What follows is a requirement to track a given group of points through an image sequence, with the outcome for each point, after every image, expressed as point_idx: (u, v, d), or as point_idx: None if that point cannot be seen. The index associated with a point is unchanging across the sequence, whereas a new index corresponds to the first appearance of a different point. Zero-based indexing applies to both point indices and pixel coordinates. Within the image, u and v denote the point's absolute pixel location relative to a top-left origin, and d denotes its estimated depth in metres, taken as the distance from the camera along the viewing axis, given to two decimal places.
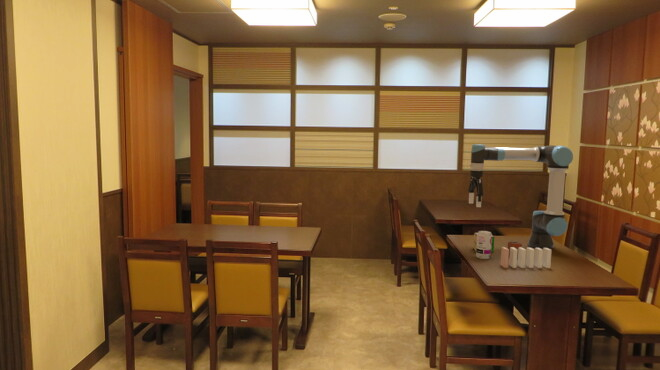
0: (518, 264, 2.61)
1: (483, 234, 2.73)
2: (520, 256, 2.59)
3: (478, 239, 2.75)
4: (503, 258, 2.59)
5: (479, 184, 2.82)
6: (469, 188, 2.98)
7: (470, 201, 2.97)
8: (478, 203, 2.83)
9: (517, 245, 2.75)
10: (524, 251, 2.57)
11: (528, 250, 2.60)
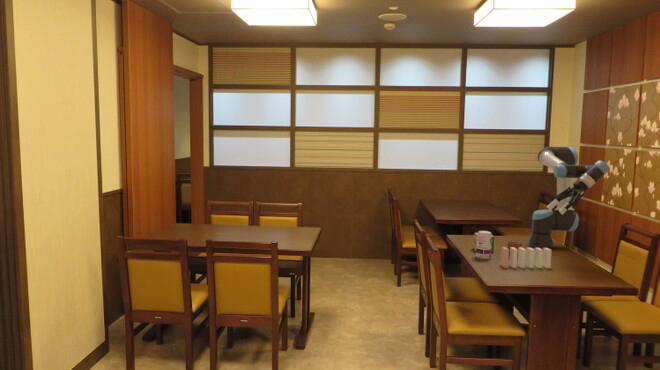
0: (518, 264, 2.61)
1: (483, 234, 2.73)
2: (520, 256, 2.59)
3: (478, 239, 2.75)
4: (503, 258, 2.59)
5: (579, 194, 2.58)
6: (558, 195, 2.73)
7: (550, 206, 2.72)
8: (563, 209, 2.59)
9: (517, 245, 2.75)
10: (524, 251, 2.57)
11: (528, 250, 2.60)
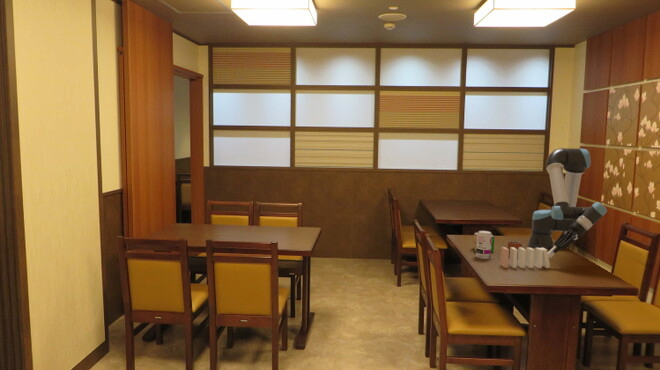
0: (518, 264, 2.61)
1: (483, 234, 2.73)
2: (520, 256, 2.59)
3: (478, 239, 2.75)
4: (503, 258, 2.59)
5: (571, 240, 2.54)
6: (557, 241, 2.62)
7: None
8: (551, 253, 2.59)
9: (517, 245, 2.75)
10: (524, 251, 2.57)
11: (528, 250, 2.60)
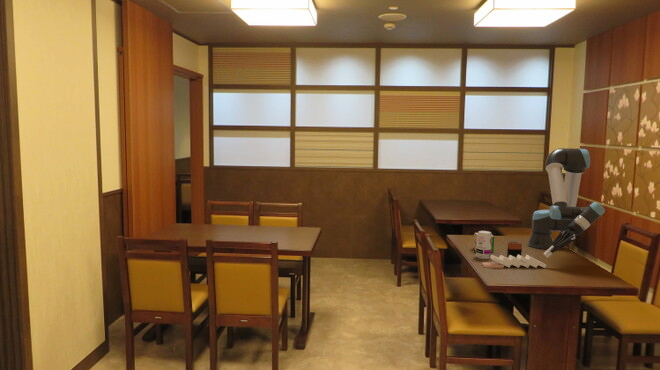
0: None
1: (483, 234, 2.73)
2: None
3: (478, 239, 2.75)
4: None
5: (568, 240, 2.55)
6: (555, 240, 2.63)
7: None
8: (549, 252, 2.60)
9: (517, 245, 2.75)
10: (505, 259, 2.57)
11: (511, 259, 2.60)
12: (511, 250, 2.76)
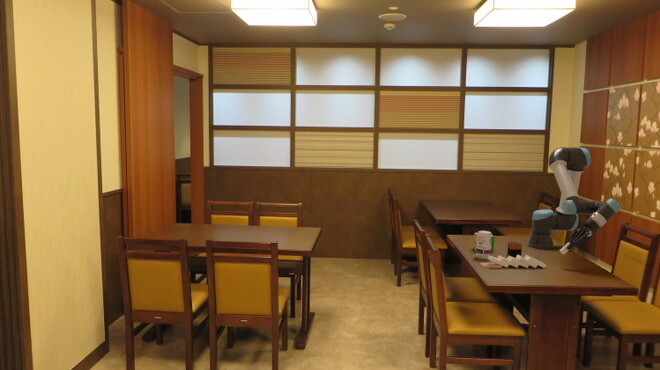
0: None
1: (483, 234, 2.73)
2: None
3: (478, 239, 2.75)
4: None
5: (585, 236, 2.55)
6: (570, 237, 2.63)
7: None
8: (565, 249, 2.59)
9: (517, 245, 2.75)
10: (503, 259, 2.57)
11: (510, 260, 2.60)
12: (511, 250, 2.76)
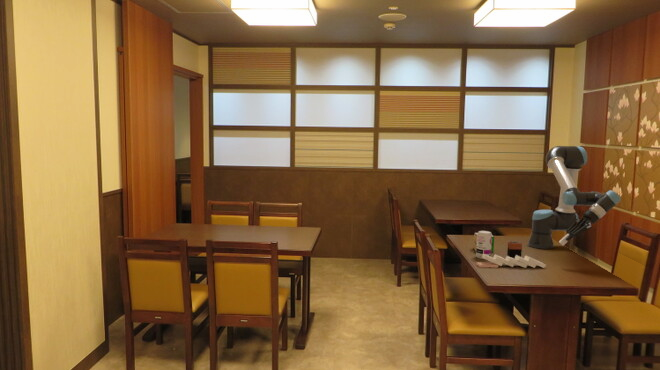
0: None
1: (483, 234, 2.73)
2: None
3: (478, 239, 2.75)
4: None
5: (584, 228, 2.55)
6: (570, 229, 2.64)
7: None
8: (564, 240, 2.61)
9: (517, 245, 2.75)
10: (498, 258, 2.58)
11: (508, 260, 2.60)
12: (511, 250, 2.76)
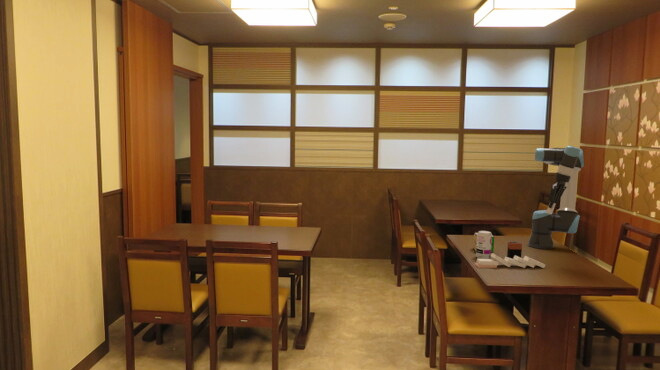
0: None
1: (483, 234, 2.73)
2: None
3: (478, 239, 2.75)
4: None
5: (552, 190, 2.66)
6: None
7: None
8: (549, 209, 2.71)
9: (517, 245, 2.75)
10: (496, 257, 2.57)
11: (507, 261, 2.59)
12: (511, 250, 2.76)
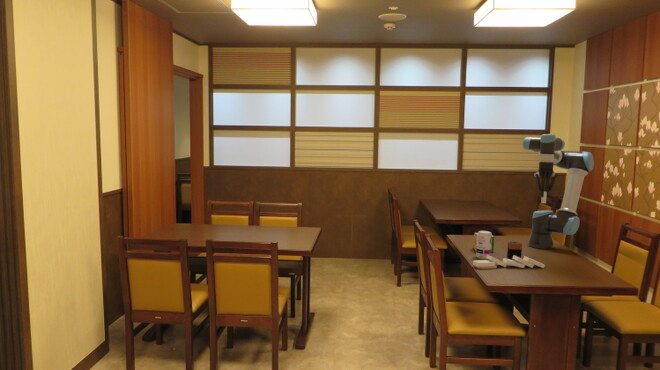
0: None
1: (483, 234, 2.73)
2: None
3: (478, 239, 2.75)
4: None
5: (536, 179, 2.74)
6: None
7: None
8: (542, 198, 2.75)
9: (517, 245, 2.75)
10: (493, 258, 2.56)
11: (506, 263, 2.59)
12: (511, 250, 2.76)
